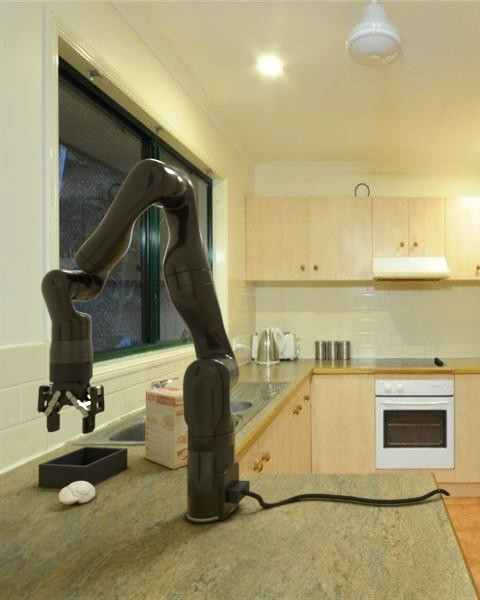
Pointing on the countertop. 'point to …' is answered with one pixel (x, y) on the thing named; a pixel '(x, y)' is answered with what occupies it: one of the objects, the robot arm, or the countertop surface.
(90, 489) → the dumpling
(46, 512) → the countertop surface
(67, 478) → the basin
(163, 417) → the coffeecake box
